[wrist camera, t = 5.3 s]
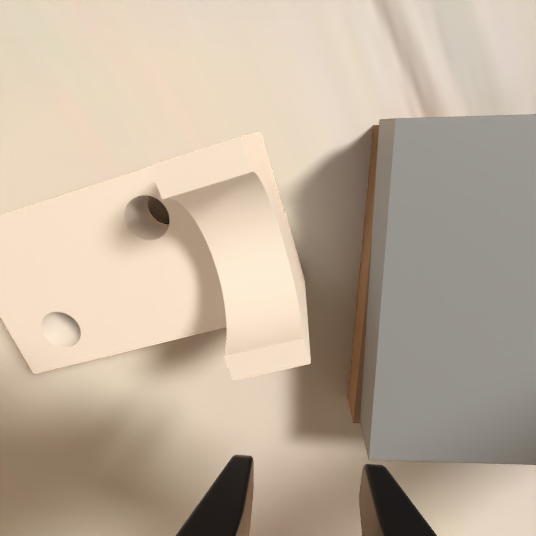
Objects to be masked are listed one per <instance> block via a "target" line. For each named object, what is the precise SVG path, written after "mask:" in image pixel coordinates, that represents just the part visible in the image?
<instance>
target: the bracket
mask: <svg viewBox="0 0 536 536" xmlns="http://www.w3.org/2000/svg"><path fill="white" fill-rule="evenodd" d="M149 196H151V197H154V198H156V199H158V200H159V201H160V202H161V203H162V204H163V205H164V206H165V207H166V209H167V211H168V214H169V219H170V222H169V224H163V223H161V222H159V221H157V220H156V219H155V218H154V217H153V216H152V215H151V213H150V211H149V208H148V198H149ZM0 317H1V319H2V321H3V322H4V324H5V326H6V328H7V329H8V331H9V333H10V334H11V336H12V338H13V340H14V341H15V343H16V345H17V346H18V348H19V350H20V352H21V353H22V355H23V357H24V358H25V360H26V362H27V363H28V365H29V367H30V369H31V370H32V372H33V374H37V373H41V372H45V371H50V370H54V369H58V368H62V367H66V366H70V365H74V364H78V363H82V362H86V361H90V360H95V359H99V358H103V357H107V356H111V355H115V354H119V353H123V352H127V351H131V350H135V349H139V348H144V347H148V346H152V345H156V344H160V343H164V342H168V341H172V340H176V339H180V338H184V337H188V336H193V335H197V334H201V333H205V332H209V331H213V330H217V329H221V328H225V327H227V339H226V348H225V353H224V359H225V361H226V364H227V366H228V369H229V372H230V374H231V377H232V379H233V381H235V380H240V379H244V378H249V377H253V376H258V375H262V374H267V373H271V372H276V371H280V370H285V369H289V368H294V367H299V366H303V365H308V364H311V357H310V343H309V330H308V316H307V303H306V289H305V277H304V274H303V270H302V267H301V264H300V260H299V257H298V253H297V250H296V246H295V243H294V240H293V236H292V233H291V229H290V226H289V222H288V219H287V216H286V212H285V209H283V206H282V203H281V199H280V196H279V193H278V189H277V186H276V182H275V179H274V175H273V172H272V169H271V165H270V162H269V158H268V155H267V151H266V148H265V145H264V141H263V138H262V134H261V131H260V132H256V133H251V134H247V135H243V136H239V137H236V138H233V139H230V140H227V141H224V142H221V143H218V144H214V145H211V146H208V147H205V148H202V149H199V150H196V151H193V152H190V153H187V154H184V155H180V156H177V157H174V158H171V159H168V160H165V161H162V162H159V163H156V164H153V165H150V166H149V167H147V168H144V169H141V170H138V171H135V172H132V173H128V174H125V175H122V176H119V177H116V178H113V179H110V180H107V181H104V182H101V183H97V184H94V185H91V186H88V187H85V188H82V189H79V190H76V191H73V192H70V193H67V194H63V195H60V196H57V197H54V198H51V199H48V200H45V201H42V202H39V203H36V204H32V205H29V206H26V207H23V208H20V209H17V210H14V211H11V212H8V213H5V214H2V215H0Z"/></svg>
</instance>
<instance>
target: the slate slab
mask: <svg viewBox="0 0 536 536" xmlns="http://www.w3.org/2000/svg"><path fill="white" fill-rule="evenodd" d="M360 422H361V427H362V431H363V436H364V440H365V445H366V449H367V454H368V458H369V460H388V461H422V462H456V463H490V464H524V465H536V114H530V115H496V116H462V117H428V118H395V119H381V120H379V135H378V150H377V165H376V181H375V196H374V211H373V227H372V243H371V259H370V274H369V289H368V304H367V320H366V335H365V350H364V365H363V380H362V396H361V411H360Z"/></svg>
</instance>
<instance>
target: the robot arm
mask: <svg viewBox="0 0 536 536" xmlns="http://www.w3.org/2000/svg"><path fill="white" fill-rule="evenodd" d="M252 500H253V457H251V456H246V455H235V456H233V457H232V458H231V459H230V461H229V462H228V464H227V465H226V466H225V468H224V469H223V471H222V472H221V473H220V475H219V476H218V478H217V479H216V480H215V482H214V483H213V485H212V486H211V487H210V489H209V490H208V492H207V493H206V494H205V496H204V497H203V498H202V500H201V501H200V503H199V504H198V505H197V507H196V508H195V510H194V511H193V512H192V514H191V515H190V517H189V518H188V519H187V521H186V522H185V524H184V525H183V526H182V528H181V529H180V531H179V532H178V533H177V535H176V536H249V531H250V521H251V510H252ZM359 504H360V515H361V526H362V536H437V535H436V534H435V533H434V531H433V530H432V529H431V527H430V526H429V525H428V523H427V522H426V521H425V519H424V518H423V517H422V515H421V514H420V513H419V511H418V510H417V509H416V507H415V506H414V505H413V503H412V502H411V501H410V499H409V498H408V497H407V495H406V494H405V493H404V491H403V490H402V489H401V487H400V486H399V485H398V483H397V482H396V481H395V479H394V478H393V477H392V475H391V474H390V473H389V471H388V470H387V469H386V468H385V467H384V466H382V465H372V464H366V465H364V467H363V471H362V478H361V486H360V494H359Z"/></svg>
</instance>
